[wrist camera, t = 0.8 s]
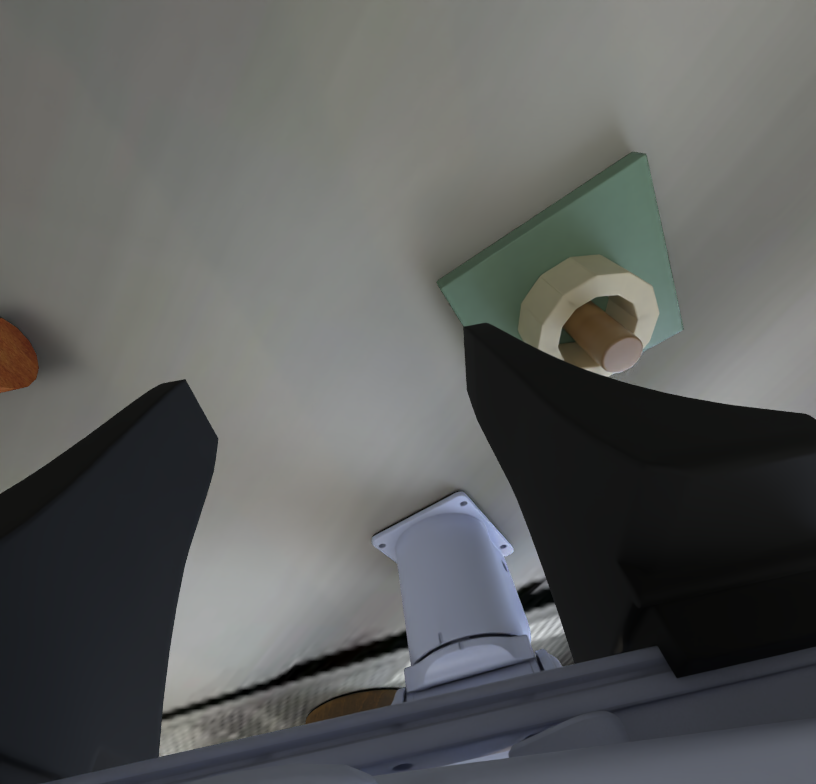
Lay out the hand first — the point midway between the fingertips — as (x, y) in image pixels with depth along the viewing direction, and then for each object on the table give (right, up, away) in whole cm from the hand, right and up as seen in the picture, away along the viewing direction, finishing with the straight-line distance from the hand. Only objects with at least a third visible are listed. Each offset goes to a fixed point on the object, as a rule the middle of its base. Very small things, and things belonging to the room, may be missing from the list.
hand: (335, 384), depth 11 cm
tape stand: (+10, +4, +11) cm, 15 cm away
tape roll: (+10, +4, +10) cm, 15 cm away
